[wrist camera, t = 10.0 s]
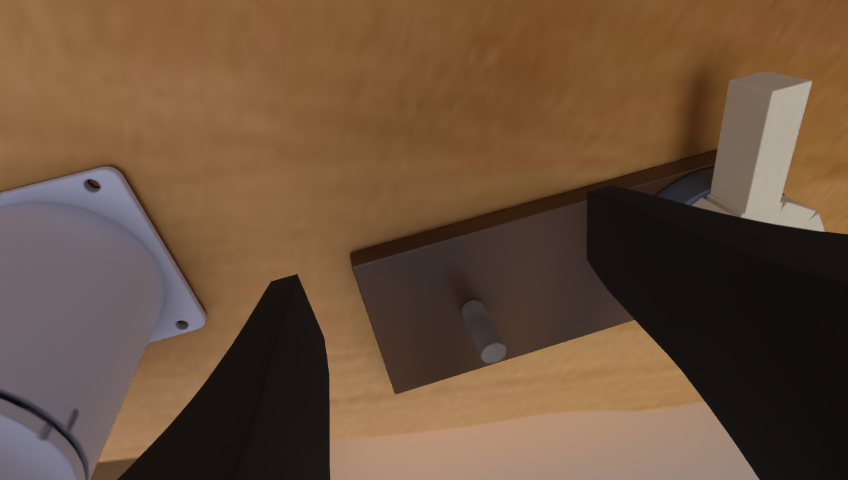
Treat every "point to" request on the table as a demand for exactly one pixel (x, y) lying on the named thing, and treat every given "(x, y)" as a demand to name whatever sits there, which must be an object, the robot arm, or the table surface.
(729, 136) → the ring
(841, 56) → the table surface
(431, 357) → the rack
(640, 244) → the robot arm
